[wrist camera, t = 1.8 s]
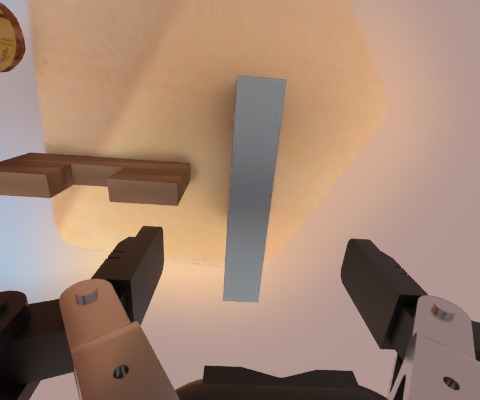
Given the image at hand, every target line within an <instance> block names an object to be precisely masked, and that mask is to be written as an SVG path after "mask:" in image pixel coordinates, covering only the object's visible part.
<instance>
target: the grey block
mask: <svg viewBox="0 0 480 400" xmlns="http://www.w3.org/2000/svg"><path fill="white" fill-rule="evenodd" d="M285 86H286V80H284V79H272V78H260V77H248V76H238V77H237V82H236V95H235V111H234V126H233V145H232V161H231V176H230V189H229V204H228V220H227V238H226V257H225V275H224V276H225V277H224V294H223V301H238V302H258V299H259V291H260V283H261V276H262V268H263V260H264V252H265V244H266V236H267V228H268V220H269V212H270V204H271V197H272V189H273V181H274V173H275V165H276V157H277V149H278V141H279V133H280V126H281V118H282V110H283V102H284V94H285Z"/></svg>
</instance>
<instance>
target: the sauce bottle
mask: <svg viewBox="0 0 480 400" xmlns="http://www.w3.org/2000/svg"><path fill="white" fill-rule="evenodd" d="M24 53H25V43H24V38H23V34H22V30H21V28H20V26H19V23H18V21H17V19H16V17H15V16H14V15H13V13H12V12H11V11H10V10H9V9H8V8H7V7H6V6H5V5H3V4H2V3H0V72H8V71H10V70H12V69H13V68H14V67H15V66H16V65H18V64H19V62H20V60H21V59H22V58H23V55H24Z"/></svg>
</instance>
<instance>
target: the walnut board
mask: <svg viewBox="0 0 480 400" xmlns="http://www.w3.org/2000/svg"><path fill="white" fill-rule="evenodd" d="M189 175H190V164H189V163H175V162H160V161H145V160H131V159H116V158H101V157H87V156H72V155H57V154H43V153H28V154H25V155H21V156H18V157H15V158H11V159H8V160H4V161H1V162H0V195H10V196H26V197H42V198H43V197H44V198H51V197H53V196H55V195H57V194H58V193H60V192H62V191H64V190H65V189H67V188H69V187H70V186H72V185H90V186H106V187H108V190H109V199H110V202H124V203H141V204H157V205H173V206H178V204H179V202H180V200H181V198H182V196H183V194H184V192H185V190H186V188H187V186H188V184H189Z"/></svg>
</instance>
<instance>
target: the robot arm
mask: <svg viewBox="0 0 480 400" xmlns="http://www.w3.org/2000/svg"><path fill="white" fill-rule="evenodd" d="M163 265H164V247H163V229H162V227H153V226H143V227H142V228H141V230H140V231H139V233H138V234H137V235H136V237H128V238H126V239H125V240H123V241H121V242H120V243H118V245H117V246H116V247H115V248H114V250H113V252H111V254H110V255H109V256H108V259H106V260H105V261H104V263H103V264H102V265H101V266H100V268H99V269H98V270H97V272H96V273H95V274H94V275H93V277H92V278H91V279H90V280H84V281H81V282H78V283H76V284H74V285H72V286H70V287H69V288H67V289H66V290H65V291H64V292H63V293H62V294H61V296H60V299H56V300H51V301H45V302H40V303H33V304H28V301H27V297H26V295H25V294H24V293H22V292H18V291H5V292H0V400H29V399H30V397H31V396H32V394H33V392H34V391H35V389H36V387H37V386H38V384H39V383H40V381H41V380H43V379H47V378H51V377H55V376H59V375H63V374H67V373H71V372H74V376H75V381H76V385H77V389H78V394H79V398H80V400H480V323H479V322H475V321H471V319H470V317H469V316H468V315H467V314H466V312H464V311H463V310H462V309H461V308H460V307H458V306H457V305H455V304H453V303H451V302H449V301H447V300H445V299H442V298H440V297H436V296H430V295H428V294H427V293H426V292H425V291H424V290H423V289H422V288H421V287H420V286H419V285H418V284H417V283H416V282H415V281H414V280H413V279H412V278H411V277H410V276H409V275H407V273H406V271H405V270H404V269H403V268H401V266H400V265H399V264H398V263H397V262H396V261H395V260H394V259H393V258H391V257H390V256H388V255H386V254H385V253H383V252H381V251H380V250H379V249H378V248H377V247H376V246H375V245H374V244H373V243H372V241H370V240H367V239H350V240H349V242H348V244H347V248H346V252H345V256H344V260H343V264H342V268H341V279H342V283H343V285H344V287H345V288H346V290H347V292H348V294H349V295H350V297H351V299H352V300H353V302H354V304H355V306H356V307H357V309H358V311H359V313H360V315H361V316H362V318H363V319H364V321H365V323H366V325H367V327H368V328H369V330H370V332H371V334H372V335H373V337H374V339H375V341H376V342H377V344H378V346H379V348H380V349H394V350H396V352H397V355H396V357H395V360H394V364H393V369H392V373H391V378H390V383H389V388H388V392H387V397H386V398H385V397H384V396H382V395H380V394H378V393H376V392H374V391H372V390H370V389H368V388H365V387H363V386H359V385H358V383H357V381H356V378H355V376H354V374H353V372H352V371H336V370H314V371H310V372H306V373H301V374H297V375H293V376H289V377H284V378H279V377H275V376H271V375H268V374H264V373H261V372H257V371H254V370H250V369H246V368H243V367H227V366H204V375H203V379H200V380H196V381H193V382H191V383H188V384H186V385H184V386H182V387H180V388H178V389H176V390H174V388H173V386H172V384H171V382H170V380H169V379H168V377H167V375H166V373H165V371H164V369H163V368H162V366H161V364H160V362H159V360H158V358H157V356H156V354H155V352H154V351H153V349H152V347H151V345H150V343H149V341H148V339H147V338H146V336H145V334H144V332H143V330H142V328H141V326H140V325H141V323H142V321H143V318H144V316H145V313H146V311H147V308H148V306H149V304H150V301H151V299H152V296H153V294H154V291H155V289H156V286H157V284H158V281H159V279H160V276H161V274H162V271H163Z"/></svg>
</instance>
